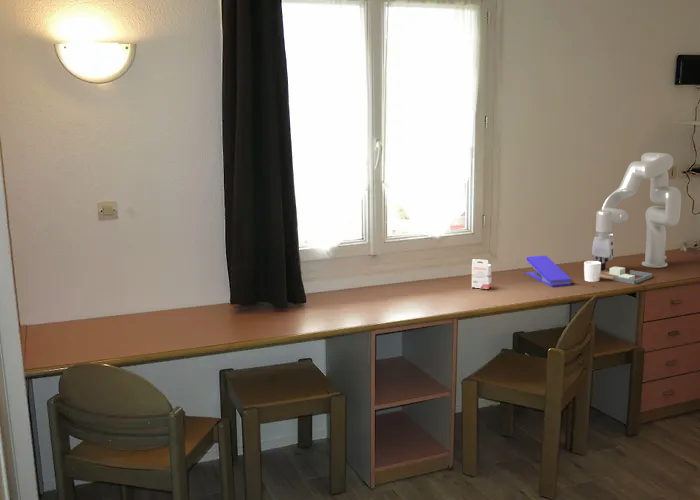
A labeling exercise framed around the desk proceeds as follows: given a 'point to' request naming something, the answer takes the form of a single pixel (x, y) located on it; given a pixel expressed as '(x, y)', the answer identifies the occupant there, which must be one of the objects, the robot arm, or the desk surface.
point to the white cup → (592, 271)
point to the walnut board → (607, 274)
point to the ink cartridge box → (481, 274)
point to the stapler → (548, 271)
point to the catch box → (645, 277)
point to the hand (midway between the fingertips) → (601, 269)
